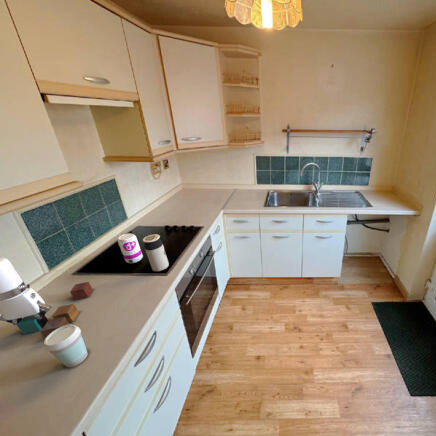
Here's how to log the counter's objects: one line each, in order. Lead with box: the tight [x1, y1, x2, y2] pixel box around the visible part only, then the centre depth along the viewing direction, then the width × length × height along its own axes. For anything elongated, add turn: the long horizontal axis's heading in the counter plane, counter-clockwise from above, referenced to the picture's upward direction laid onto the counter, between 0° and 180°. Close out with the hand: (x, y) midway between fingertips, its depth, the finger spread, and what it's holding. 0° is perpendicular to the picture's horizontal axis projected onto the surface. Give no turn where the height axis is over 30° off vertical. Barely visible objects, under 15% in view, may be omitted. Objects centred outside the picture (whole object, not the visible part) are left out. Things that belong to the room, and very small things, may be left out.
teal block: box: [16, 313, 43, 335], centre depth 87 cm, size 5×5×5 cm
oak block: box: [51, 303, 80, 324], centre depth 90 cm, size 5×5×5 cm
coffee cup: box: [43, 324, 89, 368], centre depth 74 cm, size 8×8×12 cm
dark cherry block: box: [69, 281, 93, 301], centre depth 102 cm, size 5×5×5 cm
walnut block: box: [40, 317, 71, 340], centre depth 84 cm, size 5×5×5 cm
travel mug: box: [142, 233, 170, 272], centre depth 117 cm, size 8×8×18 cm
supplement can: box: [117, 232, 144, 264], centre depth 125 cm, size 8×8×15 cm
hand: (35, 326), depth 88 cm, fingers closed on teal block, 5 cm apart
